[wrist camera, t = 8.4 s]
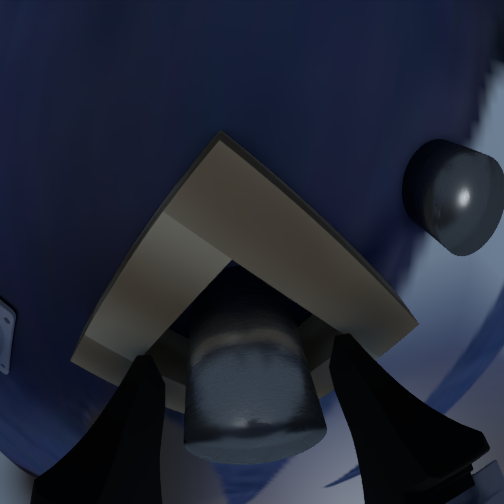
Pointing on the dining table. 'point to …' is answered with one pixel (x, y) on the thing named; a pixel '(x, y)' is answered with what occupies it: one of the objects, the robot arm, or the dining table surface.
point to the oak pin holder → (248, 256)
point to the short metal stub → (454, 194)
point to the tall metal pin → (247, 375)
